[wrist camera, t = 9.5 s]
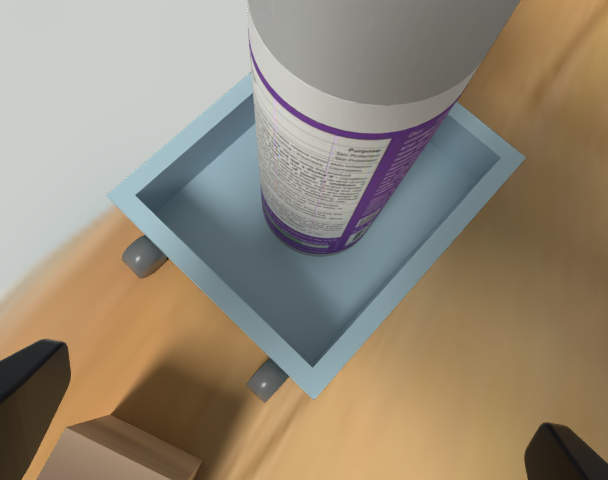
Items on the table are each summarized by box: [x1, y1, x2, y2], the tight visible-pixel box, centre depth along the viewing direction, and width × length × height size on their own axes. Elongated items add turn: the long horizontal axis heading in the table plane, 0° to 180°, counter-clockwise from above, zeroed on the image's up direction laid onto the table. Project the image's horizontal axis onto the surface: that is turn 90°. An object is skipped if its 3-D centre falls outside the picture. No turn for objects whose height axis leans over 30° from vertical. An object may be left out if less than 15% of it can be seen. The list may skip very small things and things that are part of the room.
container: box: [248, 0, 520, 257], centre depth 12 cm, size 5×5×15 cm
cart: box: [106, 72, 526, 403], centre depth 19 cm, size 15×10×4 cm
